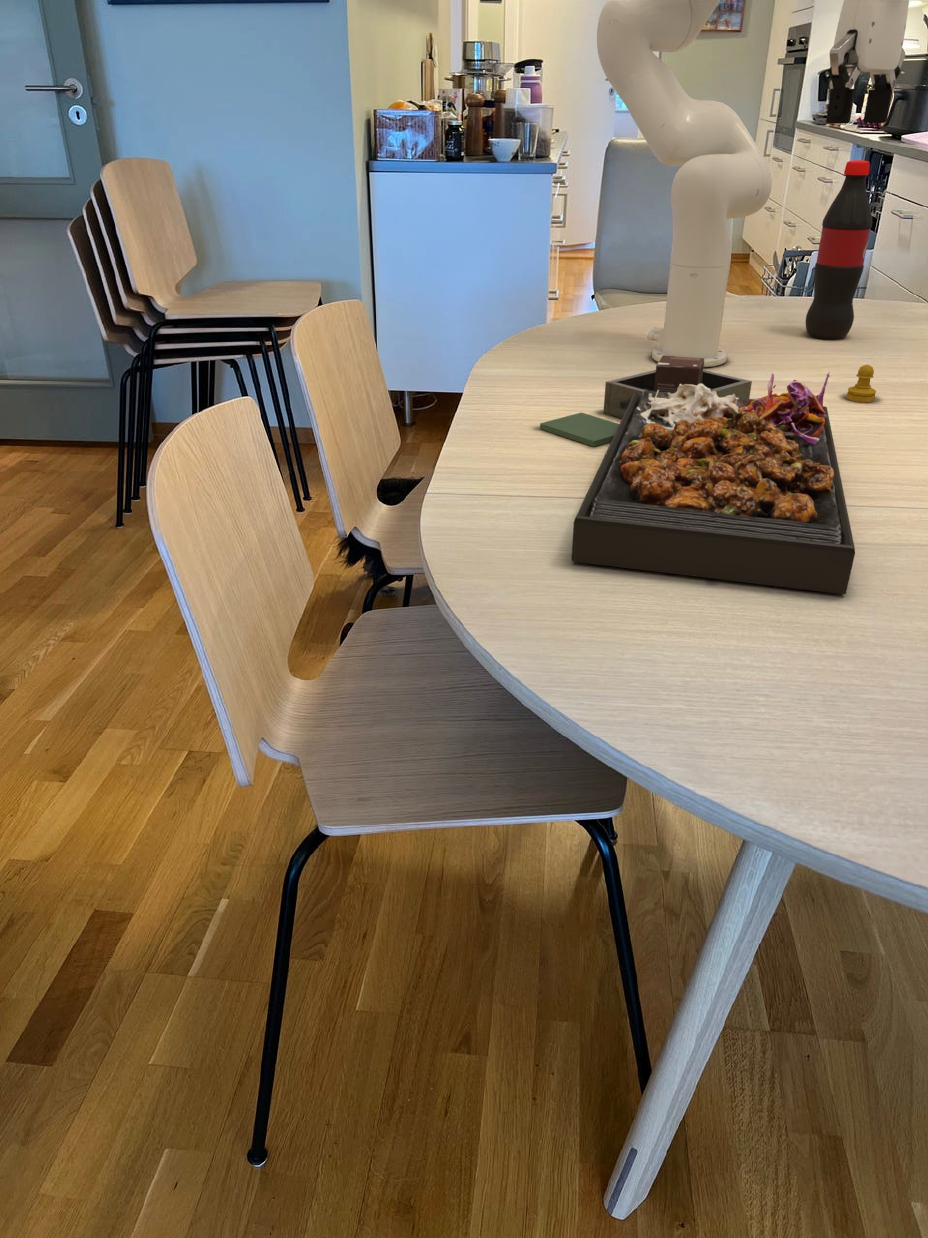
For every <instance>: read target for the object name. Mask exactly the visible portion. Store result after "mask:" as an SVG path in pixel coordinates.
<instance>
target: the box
mask: <svg viewBox="0 0 928 1238" xmlns="http://www.w3.org/2000/svg"><path fill="white" fill-rule="evenodd" d="M704 368H705V367H704V358H691V357H677V356H664V355H663V356H662V358H661V359H660V361H659V362H658V361H657V364H656V366H655V370H656V374H655V386H654V392H657V391H658V390H659V392H667V393H668V392H669V393H676V392H677V388H678V387H679V385H680V384H681V385H684V384H691V385H695V386H697V385H698V384H702V376H703V370H704Z"/></svg>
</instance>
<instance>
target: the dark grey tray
mask: <svg viewBox="0 0 928 1238" xmlns="http://www.w3.org/2000/svg"><path fill="white" fill-rule="evenodd" d="M655 374H656V369H653V370H648V371H645V372H639V373H636V374H632V375H629V376H628V375H627V376H625V377H620V378H616V379H611V380H608V381H605V384H604V397H603V399H604V400H603V413H602V414H605V415H608V416H611V417H614V418H618V419H621V420H622V418H623V416H624V413H625V411H626V409H627V407H628V405H629V403H630V401H631V399H632V396H633V394H634V393H635V392H638V393H642V392H644V391H654V386H655ZM702 384H703V385H704V386H706V387H707V388H710V391H711V392H713V391H716V393H717V396H718V397H726V396H727V395H733V394H735V397H736V398H743V399H751V398H750V397H751V390H752V384H753V381H752V380H749V379H744V378H739V377H736V376H731V375H727V374H723V373H718V372H715V371H710V370H705V369H703V376H702Z"/></svg>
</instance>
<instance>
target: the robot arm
mask: <svg viewBox="0 0 928 1238" xmlns="http://www.w3.org/2000/svg"><path fill="white" fill-rule="evenodd" d="M721 1H722V0H606V2H605V3H604V5H603V7H602V8H601V11H600V14H599V16H598V22H597V29H596V48H597V55H598V60H599V62H600V65H601V69H602V70H603V73H604V75H605V77H606V79H607V80H608V82H609V83H610V85H611V87H612V88H613V89H614V91H615V92H616V94H617V95H618V97H619V98H620V100H621V101H622V103H623V104H624V106H625V107H626V109H627V110H628V112H629V114H630V116H631V117H632V119H633V121H634V123H635V124H636V125H635V126H636V127H637V128H638V130H639V132H640V133H641V135H642V136H643V138H644V140H645V142H646V143H647V145H648V147H649V149H650V150H651V152H652V154H653V155H654V156H655V158H656V159H657V161H659V162H660V163H661V164H663V165H664V166H665V165H666V166H668V167H679V169H678V170H677V172H676V173H675V175H674V178H673V180H672V184H671V188H670V202H671V203H670V205H671V215H672V216H671V219H672V236H671V237H672V240H671V253H670V262H669V263H670V264H669V271H668V272H669V273H668V283H667V293H666V304H665V312H664V323H663V328H660V327H657V326H655V327H652V328H651V330H650V331H649V332H648V333H647V335H646V339H647V340H648V341H653V342H657V343H656V348H655V347H654V349H652V353H651V354H652V355H651V358H652V359H653V361H655V362H657V363H658V362H659V361H660V359H661V358H662V356H663V355H664V356H677V357H691V358H704V368H710V367H717V366H720V365H723V364H724V363H726V362H727V359H728V353H726V352H725V351H724V350H723V349H720V340H721V333H722V327H723V326H722V324H723V317H724V309H725V304H726V303H725V302H726V294H727V287H728V280H729V271H730V265H731V264H730V262H731V254H732V241H731V234H730V229H729V226H728V220H729V219H737V218H743V217H744V218H745V217H749V216H751V215H754V214H756V213H757V212H759V211H761V209H762V208H764V206H765V205H766V204H767V202H768V200H769V197H770V196H771V192H772V188H773V187H772V186H773V185H772V184H773V183H772V182H773V179H772V173H771V170H770V167H769V164H768V162H767V160H766V158H765V156H764V155H763V153H762V152H761V150H760V148H759V147H758V144H757V143H756V142H755V140H754V138H753V137H752V136H751V134H750V132H749V131H748V129H747V127H746V125H745V124H744V123H743V121H742V119H741V118H740V116H739V115H738V113H736V111H735V110H734V109H733V108H731V107H730V106H729V105H727V104H726V103H724V102H722V101H719V100H710V99H709V100H707V99H695V98H692V97H691V96H689V95H688V93H687V92H686V91H685V90H684V88H683V86H681V83H679V80H678V79H677V77H676V75H675V74H674V72H673V71H672V69H671V68H670V67H669V66H668V65H667V64H666V63H665V62H664V61H663V60H662V59H661V58H659V57H658V56H657V55H656V54H655V53H654V52H657V53H658V52H659V53H676V52H679V51H682V50H684V49H685V48H687V47H688V46H690V45H691V44H692V43H693V42H694V40H696V38H697V37H698V36H699V34H700V33H701V32H702V30H703V29H704V27H705V25H706V24H707V22H708V21H709V20H710V18H711V16H712V15H713V13H714V11H716V8H717V7H718V6H719V4H720V2H721ZM909 5H910V0H843V2H842V5H841V10H840V14H839V18H838V22H837V27H836V31H835V35H834V36H835V37H834V41H833V46H832V47H831V48H830V50H829V65H830V67H829V70H828V72H829V76H830V81H829V89H830V92H829V93H830V94H829V98H828V99H829V100H828V104H827V105H828V106H827V112H826V117H825V123H826V124H828V125H829V124H831V125H847V124H849V123H850V122H851V118H852V112H853V106H854V101H855V95H856V88H853V87H854V85H855V83H856V82H857V79H858V78H859V76H860V75H862V74H863V75H864V74H866V73H869V76H870V81H871V86H872V89H868V93H867V99H866V104H865V110H864V114H863V123H865V124H885V123H887V122H888V118H889V113H890V108H891V103H892V97H893V92H894V90H895V88H896V86H897V79H898V78H899V76H900V74H901V68H902V66H903V62H904V61H905V58H906V51H905V50H904V48H903V45H904V40H905V34H906V29H907V28H906V27H907V20H908V14H909V13H908V12H909ZM880 75H881V76H880Z"/></svg>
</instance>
